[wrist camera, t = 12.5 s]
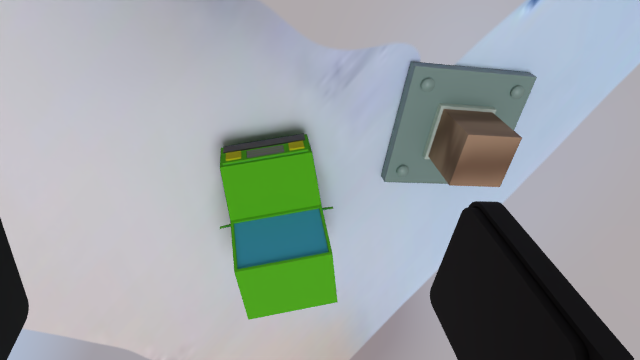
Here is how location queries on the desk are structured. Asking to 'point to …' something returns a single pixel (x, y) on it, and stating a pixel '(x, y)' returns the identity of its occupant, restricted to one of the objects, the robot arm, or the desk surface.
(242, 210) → the toy car
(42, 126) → the desk surface
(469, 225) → the robot arm
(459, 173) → the walnut cube
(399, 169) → the baseplate
